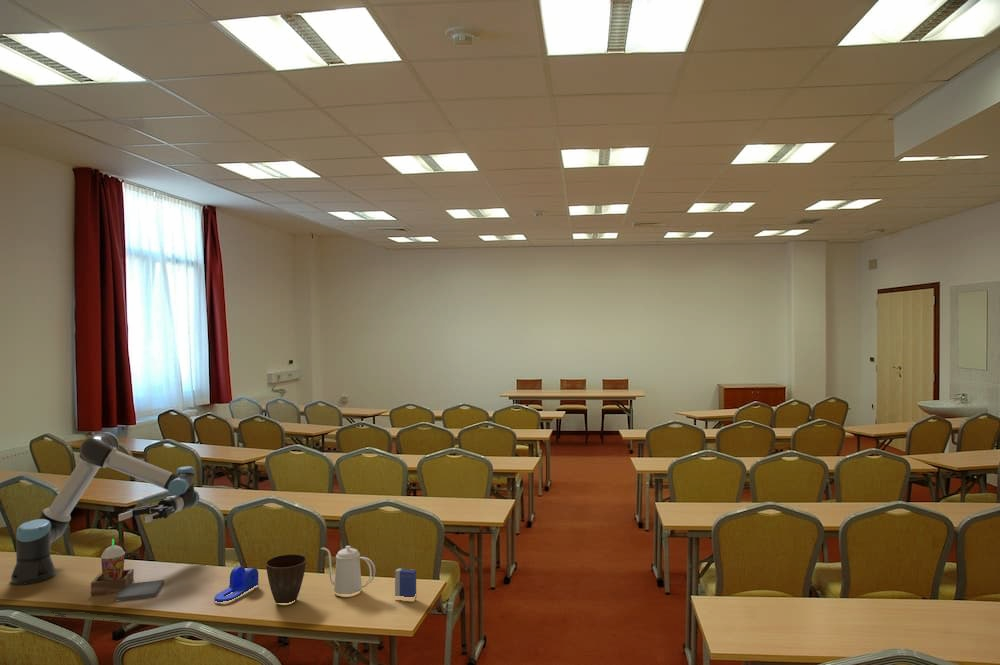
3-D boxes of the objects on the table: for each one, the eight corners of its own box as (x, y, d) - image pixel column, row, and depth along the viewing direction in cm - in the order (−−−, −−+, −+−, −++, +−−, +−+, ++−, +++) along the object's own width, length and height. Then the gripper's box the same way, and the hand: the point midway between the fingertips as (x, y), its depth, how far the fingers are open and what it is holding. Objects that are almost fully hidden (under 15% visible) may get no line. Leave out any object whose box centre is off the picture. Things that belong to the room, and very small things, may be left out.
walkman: (416, 599, 240) (416, 569, 240) (413, 602, 237) (413, 571, 237) (397, 597, 242) (397, 567, 242) (394, 600, 239) (394, 569, 239)
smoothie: (95, 590, 249) (96, 541, 249) (114, 582, 257) (114, 535, 257) (110, 593, 246) (111, 543, 247) (129, 585, 254) (129, 537, 255)
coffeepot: (327, 584, 255) (327, 538, 256) (381, 591, 248) (381, 544, 248) (312, 594, 245) (312, 547, 245) (367, 602, 238) (367, 553, 238)
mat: (125, 587, 252) (125, 583, 252) (163, 583, 256) (163, 579, 256) (115, 601, 239) (115, 597, 239) (155, 596, 243) (155, 593, 243)
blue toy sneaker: (241, 585, 255) (241, 563, 255) (258, 587, 252) (258, 565, 252) (209, 603, 237) (209, 580, 237) (227, 605, 235) (227, 582, 235)
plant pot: (287, 591, 248) (287, 551, 248) (314, 598, 241) (314, 557, 241) (257, 605, 235) (257, 563, 235) (285, 613, 228) (285, 570, 228)
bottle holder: (101, 584, 256) (101, 572, 256) (133, 580, 259) (133, 568, 259) (90, 595, 244) (90, 582, 244) (124, 591, 248) (125, 579, 248)
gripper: (193, 515, 279) (157, 529, 258) (147, 512, 285) (108, 525, 264) (193, 498, 279) (157, 511, 259) (147, 496, 285) (108, 508, 264)
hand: (132, 518), depth 261 cm, fingers open, 13 cm apart
